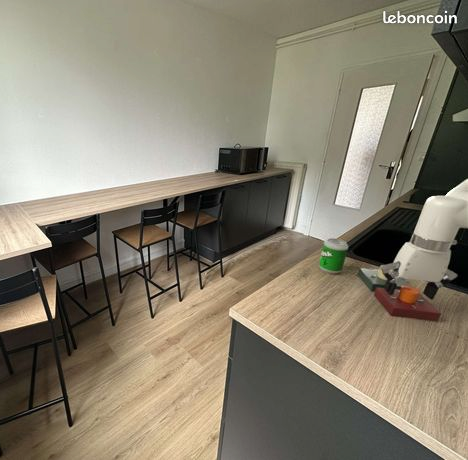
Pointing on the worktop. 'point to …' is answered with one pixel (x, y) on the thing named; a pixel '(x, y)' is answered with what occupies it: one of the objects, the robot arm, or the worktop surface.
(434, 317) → the handle plate
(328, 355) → the worktop surface
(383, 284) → the handle plate
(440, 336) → the worktop surface
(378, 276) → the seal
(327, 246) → the soda can
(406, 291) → the seal
